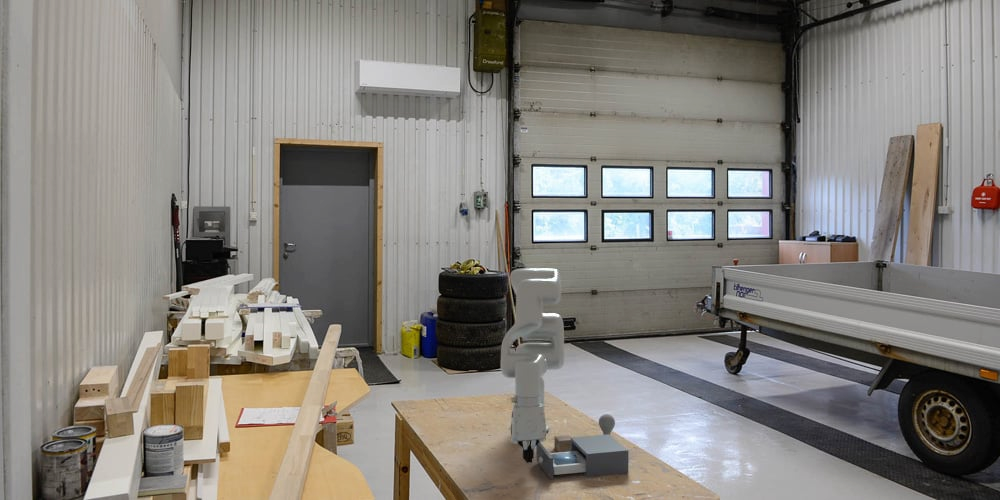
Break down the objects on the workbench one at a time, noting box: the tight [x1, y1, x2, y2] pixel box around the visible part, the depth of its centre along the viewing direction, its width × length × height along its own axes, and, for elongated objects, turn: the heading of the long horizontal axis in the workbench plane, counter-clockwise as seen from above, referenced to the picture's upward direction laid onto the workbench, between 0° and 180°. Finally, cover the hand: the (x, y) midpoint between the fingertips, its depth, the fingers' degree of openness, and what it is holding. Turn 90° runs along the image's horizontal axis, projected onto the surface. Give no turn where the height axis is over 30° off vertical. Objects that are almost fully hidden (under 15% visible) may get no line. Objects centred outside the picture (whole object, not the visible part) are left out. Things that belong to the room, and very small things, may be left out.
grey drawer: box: [535, 442, 586, 480], centre depth 195 cm, size 15×14×6 cm
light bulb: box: [598, 413, 616, 435], centre depth 218 cm, size 6×6×10 cm
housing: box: [570, 433, 629, 478], centre depth 198 cm, size 15×13×7 cm
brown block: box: [553, 434, 571, 453], centre depth 212 cm, size 5×5×4 cm
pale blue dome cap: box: [554, 452, 577, 465], centre depth 196 cm, size 7×7×2 cm
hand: (528, 461), depth 193 cm, fingers closed
